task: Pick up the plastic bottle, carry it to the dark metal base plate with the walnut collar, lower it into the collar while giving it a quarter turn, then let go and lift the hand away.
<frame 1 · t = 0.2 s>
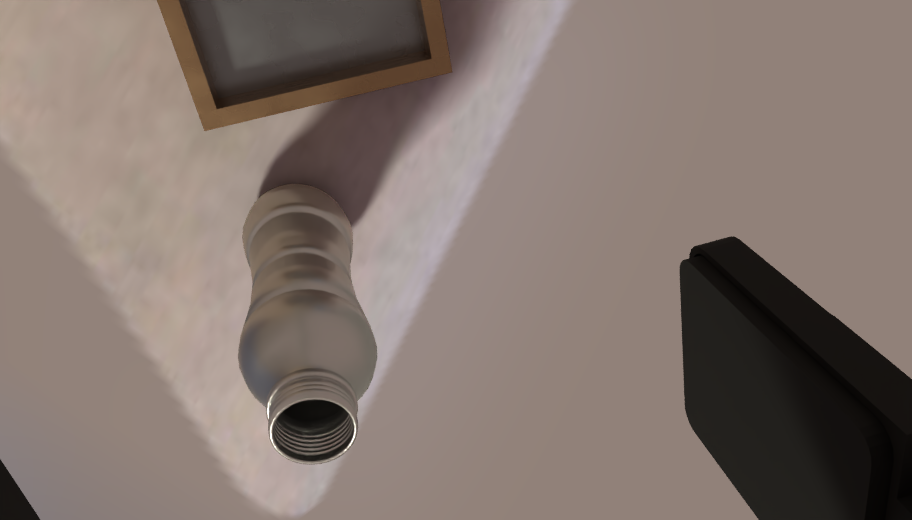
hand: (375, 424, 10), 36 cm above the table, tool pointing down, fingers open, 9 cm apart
plastic bottle: (297, 220, 48), on the table
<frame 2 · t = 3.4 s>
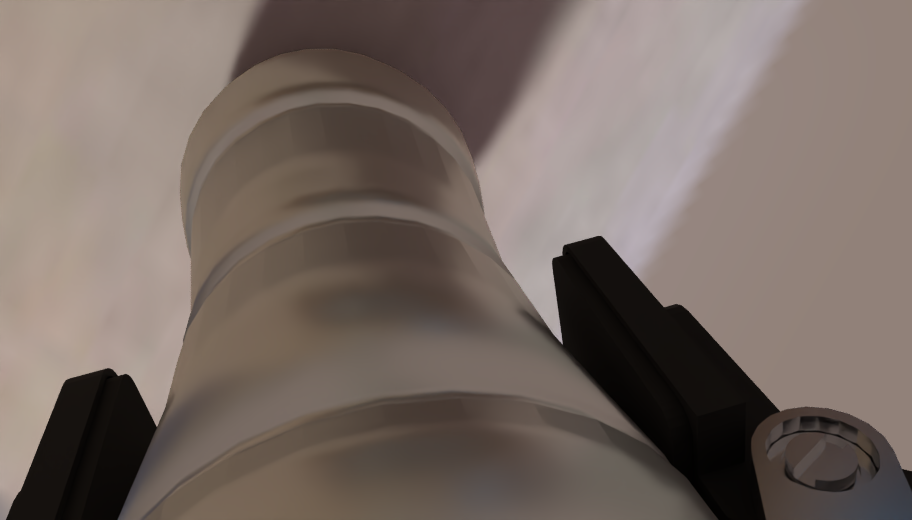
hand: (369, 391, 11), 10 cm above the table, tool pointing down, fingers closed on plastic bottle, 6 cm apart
plastic bottle: (327, 158, 19), on the table, touching gripper
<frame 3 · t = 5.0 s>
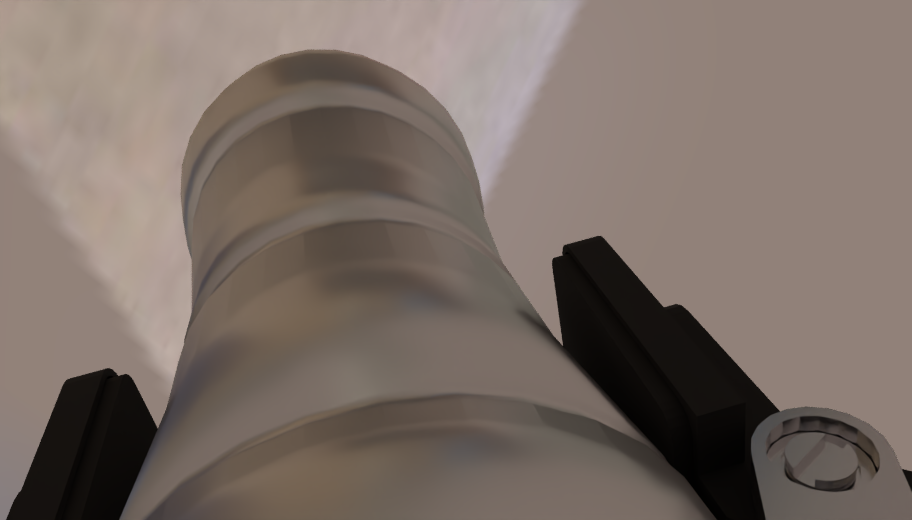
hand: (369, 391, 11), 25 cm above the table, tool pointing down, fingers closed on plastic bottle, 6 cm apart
plastic bottle: (328, 159, 20), point 15 cm above the table, touching gripper
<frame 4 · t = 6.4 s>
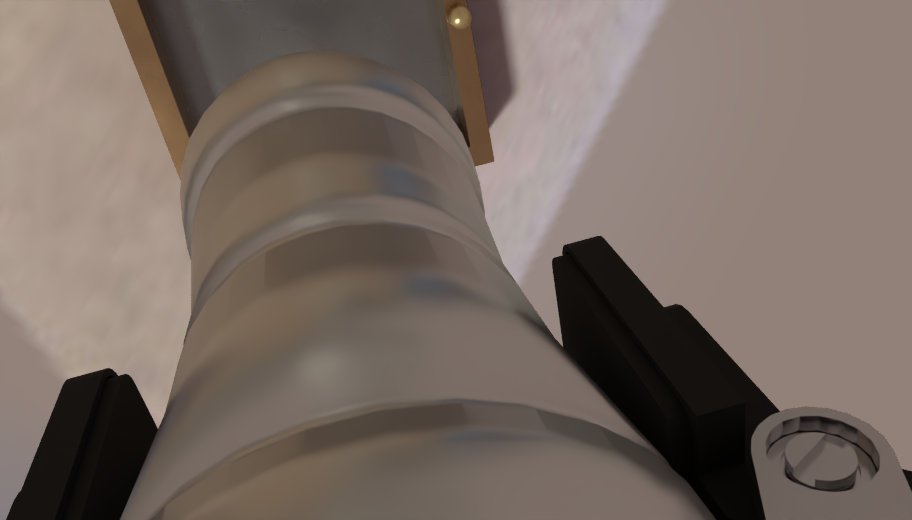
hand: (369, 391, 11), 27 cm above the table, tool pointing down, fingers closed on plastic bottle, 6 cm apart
plastic bottle: (328, 160, 19), point 17 cm above the table, touching gripper
collar base: (307, 36, 35), on the table
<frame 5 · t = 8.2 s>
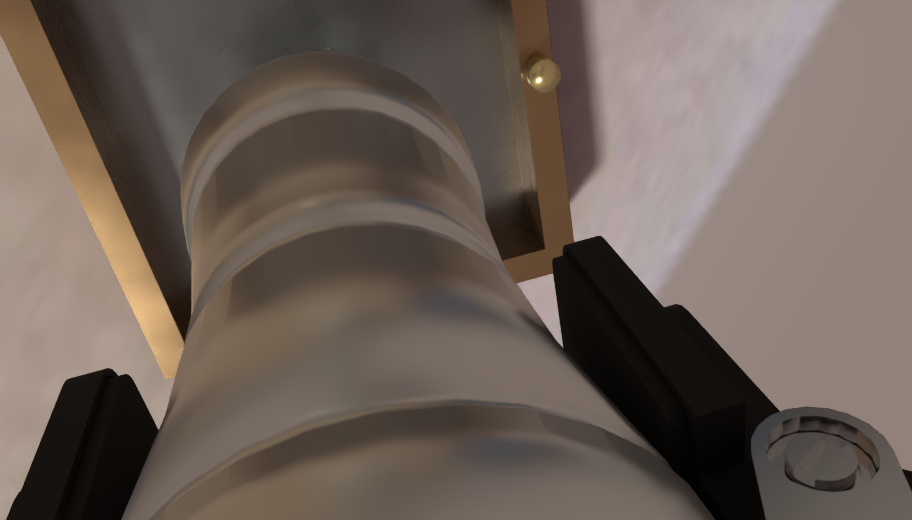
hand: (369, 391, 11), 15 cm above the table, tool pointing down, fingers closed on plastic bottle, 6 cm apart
plastic bottle: (328, 160, 19), point 6 cm above the table, touching gripper
collar base: (315, 94, 24), on the table
when the fingers open (11 cm above the table, at t = 9.8 s): plastic bottle stays where it is, resting on collar base.
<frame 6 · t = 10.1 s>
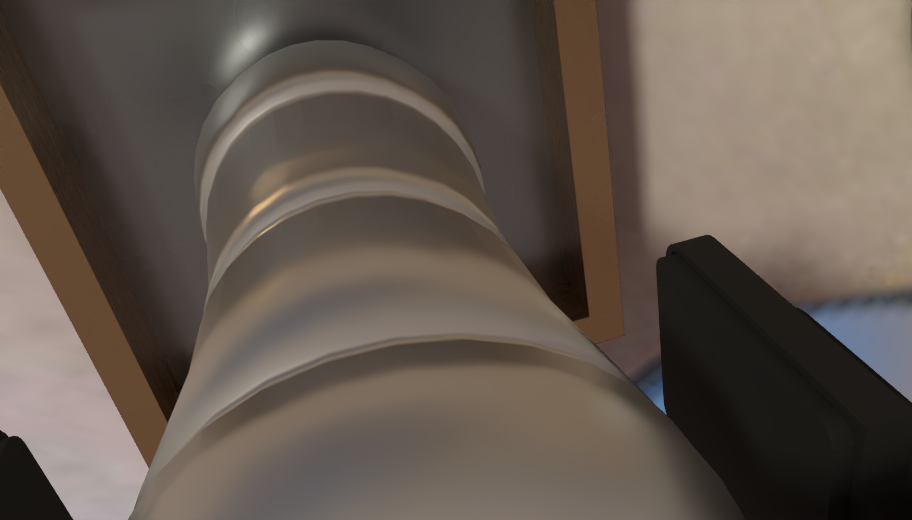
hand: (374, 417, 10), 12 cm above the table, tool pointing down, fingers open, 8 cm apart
plastic bottle: (334, 147, 20), point 1 cm above the table, touching collar base
collar base: (323, 139, 21), on the table
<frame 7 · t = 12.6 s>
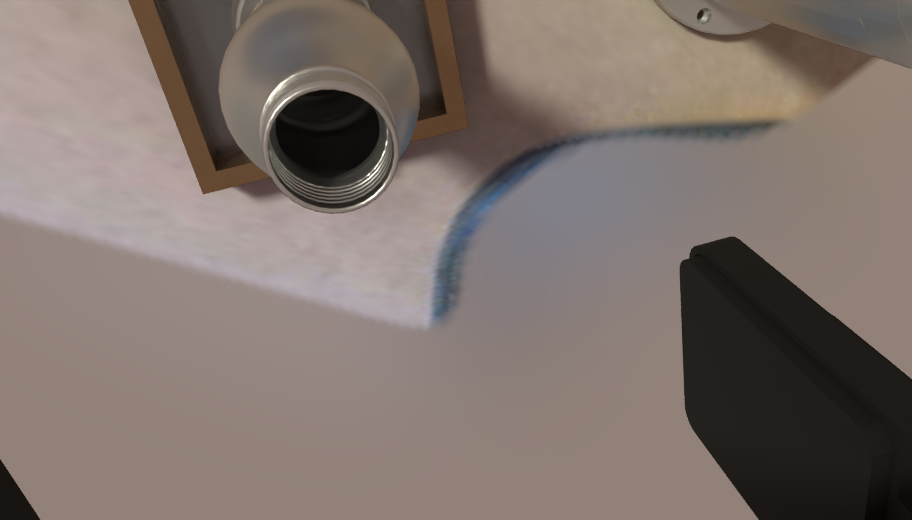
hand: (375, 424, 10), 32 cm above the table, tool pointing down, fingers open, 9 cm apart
plastic bottle: (303, 14, 37), point 1 cm above the table, touching collar base
collar base: (298, 12, 38), on the table
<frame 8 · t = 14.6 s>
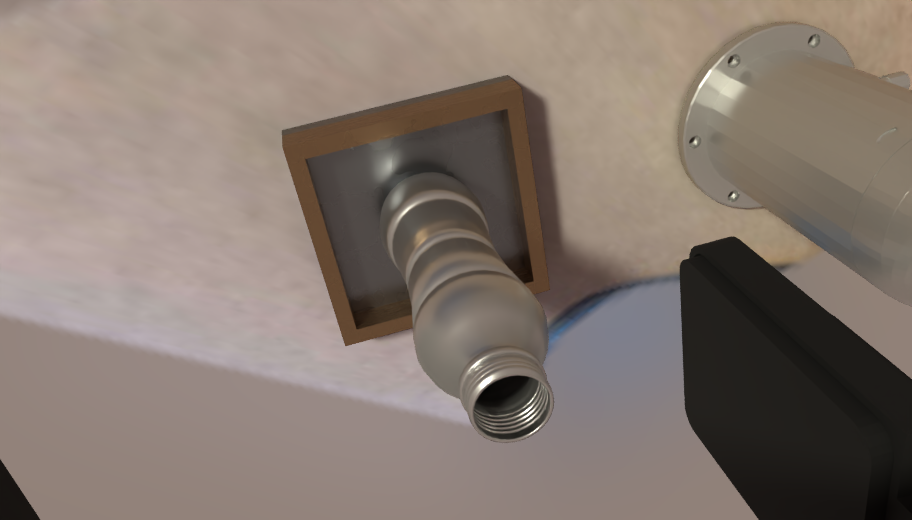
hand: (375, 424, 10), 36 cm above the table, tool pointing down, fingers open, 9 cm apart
plastic bottle: (425, 209, 48), point 1 cm above the table, touching collar base
collar base: (419, 205, 49), on the table
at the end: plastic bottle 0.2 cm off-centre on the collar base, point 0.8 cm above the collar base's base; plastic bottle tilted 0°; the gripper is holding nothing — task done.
